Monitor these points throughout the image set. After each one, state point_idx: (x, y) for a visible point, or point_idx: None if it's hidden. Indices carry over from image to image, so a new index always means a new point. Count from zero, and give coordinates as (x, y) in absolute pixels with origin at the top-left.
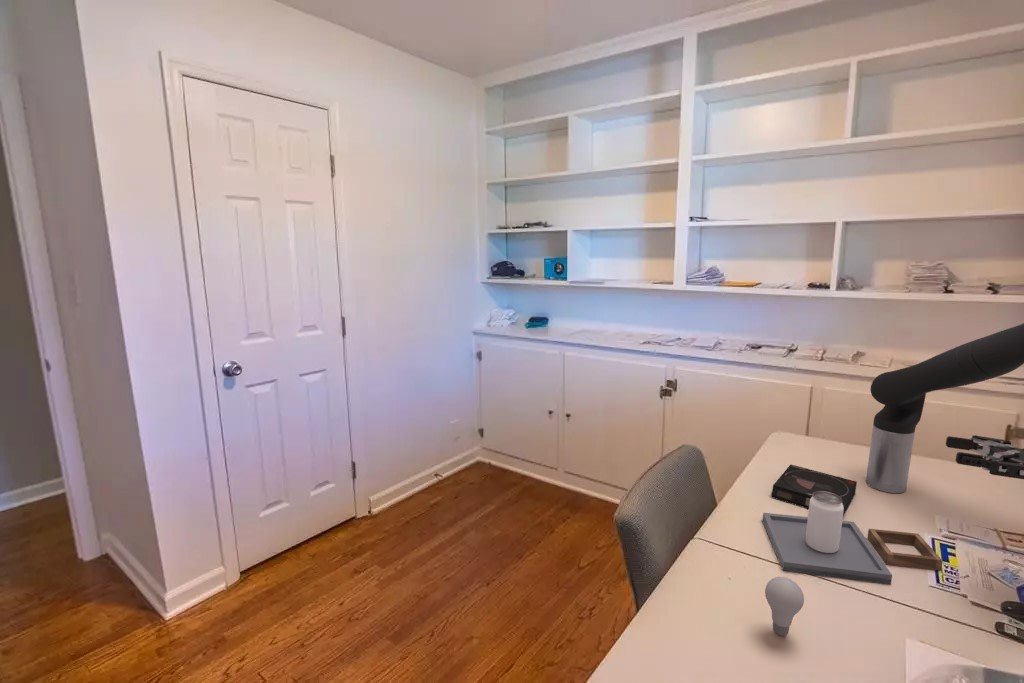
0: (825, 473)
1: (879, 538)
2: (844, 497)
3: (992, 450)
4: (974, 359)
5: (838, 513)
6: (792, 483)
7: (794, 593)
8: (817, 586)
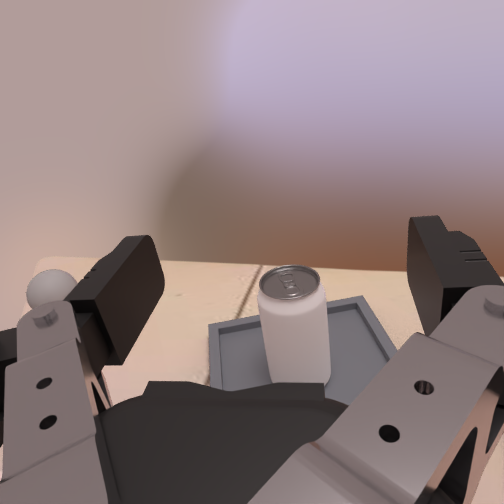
0: None
1: None
2: None
3: (259, 394)
4: None
5: (264, 314)
6: None
7: (28, 286)
8: (182, 374)
